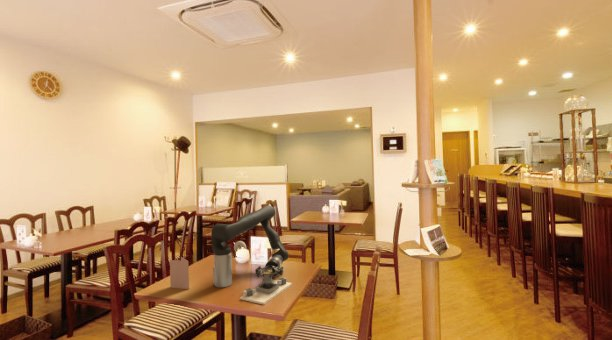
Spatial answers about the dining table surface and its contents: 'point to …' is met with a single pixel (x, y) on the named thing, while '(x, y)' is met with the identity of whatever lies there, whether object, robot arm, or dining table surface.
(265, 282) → the cylinder
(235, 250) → the donut
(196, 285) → the dining table surface
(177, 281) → the greeting card
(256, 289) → the stand
